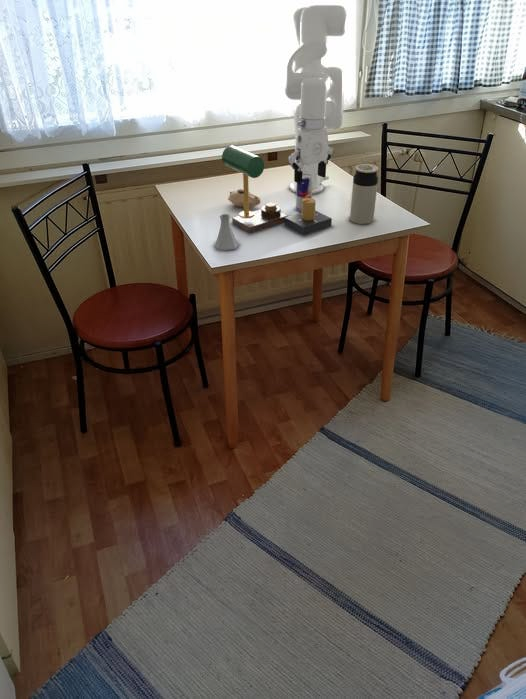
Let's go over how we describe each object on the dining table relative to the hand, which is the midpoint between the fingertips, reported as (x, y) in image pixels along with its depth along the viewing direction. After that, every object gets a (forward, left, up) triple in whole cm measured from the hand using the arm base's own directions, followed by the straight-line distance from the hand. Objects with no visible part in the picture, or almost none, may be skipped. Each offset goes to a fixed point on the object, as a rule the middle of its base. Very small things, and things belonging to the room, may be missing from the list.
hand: (309, 179), depth 183 cm
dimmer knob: (0, 0, -13) cm, 13 cm away
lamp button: (+6, -12, -13) cm, 19 cm away
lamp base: (+11, -12, -16) cm, 23 cm away
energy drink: (-8, -12, -16) cm, 22 cm away
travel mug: (-18, +7, -16) cm, 25 cm away
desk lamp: (+16, -12, -12) cm, 24 cm away
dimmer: (0, 0, -16) cm, 16 cm away
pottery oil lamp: (+7, -27, -16) cm, 32 cm away
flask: (+30, -4, -16) cm, 34 cm away
